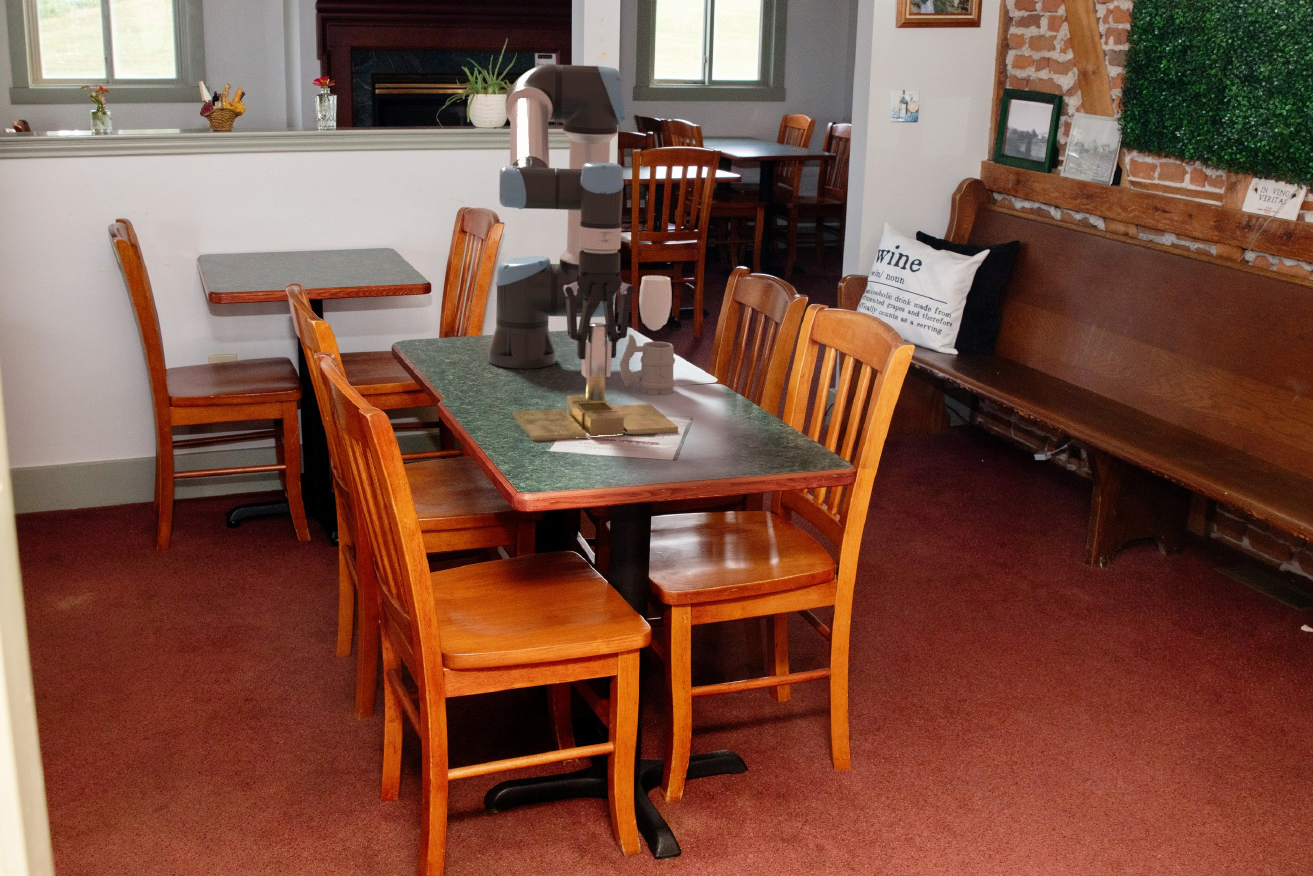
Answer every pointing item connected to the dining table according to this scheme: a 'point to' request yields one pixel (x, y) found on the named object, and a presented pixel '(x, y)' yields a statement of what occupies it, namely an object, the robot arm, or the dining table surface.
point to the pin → (597, 361)
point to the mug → (650, 366)
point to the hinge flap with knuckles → (635, 417)
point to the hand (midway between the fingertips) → (595, 375)
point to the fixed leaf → (571, 421)
